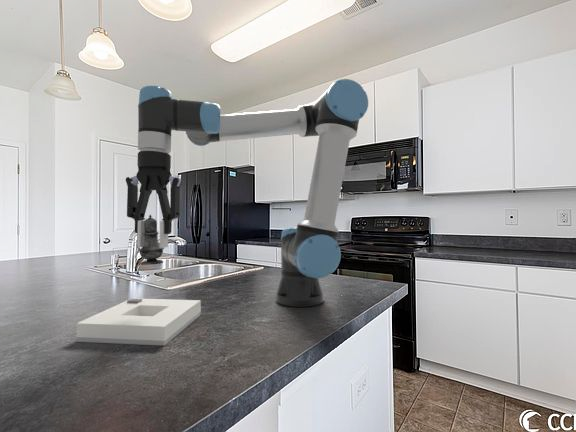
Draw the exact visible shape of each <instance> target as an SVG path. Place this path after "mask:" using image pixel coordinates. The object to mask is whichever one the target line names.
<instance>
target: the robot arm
mask: <svg viewBox="0 0 576 432" xmlns="http://www.w3.org/2000/svg"><path fill="white" fill-rule="evenodd" d="M368 108H369V97H368V94H367V92H366V91H365V90H364V87H363V86H362V85H361V84H359V83H358V81H355V80H353V79H349V78H342V79H338V80H336V81H335V82H333V83H331V84H330V85H329V86H328V87H327V88H326V91H324V93H322V95H321V96H320V97H319V98H318V99H316V100H315V101H313V102H311V103H308V104H304V105H303V104H301V105H298V106H297V108H294V109H283V110H282V109H281V110H280V109H279V110H269V111H268V110H267V111H256V112H243V113H229V114H221V106H220V105H219V104H218V103H213V102H208V101H197V100H195V101H194V100H186V99H175V98H173V93H172V92H171V91H170V90H169V89H168V88H165V87H162V86H158V85H146V86H143V87H142V88H141V89H140V90H139V98H138V105H137V111H138V112H137V113H138V114H137V115H138V116H137V117H138V119H137V120H138V123H137V124H138V128H137V130H138V132H137V149H138V152H137V173H136V175H134V176H131V177H130V176H127V177H126V178H125V182H126V187H127V194H126V196H127V197H126V198H127V200H126V202H127V203H126V217H127V218H131V219H133V220H134V233H135V234H137V235H136V236H137V242H136V244H137V245H136V247H137V248H142V247H143V246H144V242H145V241H144V234H143V233H145V231H144V221H145V220H146V218H145V216H146V211H147V208H148V205H149V200H150V197H151V195H152V194H153V192H154V191H155V193H156V194H157V197H158V202H159V205H160V210H161V214H162V218H161V220H160V221H159V246H160V248H164V249H165V248H168V247H169V235H171V234H172V232H173V231H172V227H173V226H172V225H173V224H172V222H173V221H174V220H176V219H179V218H180V215H181V213H180V212H181V211H180V208H181V207H180V205H181V200H180V199H181V186H182V183H183V179H182V178H179V177H175V176H173V175H172V173H171V164H172V156H171V155H170V153H172V131H177V132H185V134H186V136H187V139H189V140H190V142H191V143H192V144H194V145H196V146H200V147H204V146H206V145H209V144H210V143H216V142H217V143H218V142H226V141H237V140H247V139H248V140H250V139H259V138H270V137H280V136H281V137H282V136H292V135H299V137H301V138H304V137H305V138H306V137H318V142H317V147H316V153H315V158H314V163H313V170H312V175H311V180H310V184H309V191H308V195H307V196H308V197H307V201H306V207H305V213H304V217H303V219H302V220H301V221H300V222H297V226H296V227H289V228H285V229H282V231H281V236H280V245H281V250H280V251H281V252H280V254H281V255H280V256H281V257H280V260H281V261H280V263H281V264H280V265H281V266H280V267H281V271H280V272H281V273H280V275H281V276H280V278H279V282H278V286H277V288H276V289H277V290H276V292H275V301H276V303H277V304H280V305H282V306H287V307H294V308H296V307H297V308H299V307H300V308H306V307H307V308H308V307H314V306H317V305H320V304H322V303H323V302H324V292H323V289H322V286H321V283H320V280H319V279H323V278H325V277H328V276H330V275H331V274H333V273H334V272H335V271H336V270H337V268H338V267H339V264H340V262H341V258H342V252H341V247H340V246H339V243H338V240H339V239H338V238H339V235H340V234H339V232H340V231H339V229H338V228H337V226H336V219H337V212H338V206H339V201H340V195H341V189H342V184H343V181H344V175H345V169H346V162H347V157H348V153H349V146H350V141H352V140H353V139H355V138H356V136H357V134H358V129H359V127H358V126H359V122H360V119H362V118H364V116H365V115H366V113H367V112H368ZM139 183H140V186H139V187H138V185H139ZM169 183H170V201H169V195H168V194H169V193H168V187H167V186H168V184H169Z"/></svg>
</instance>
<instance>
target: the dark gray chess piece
mask: <svg viewBox="0 0 576 432" xmlns="http://www.w3.org/2000/svg"><path fill="white" fill-rule="evenodd" d="M144 231H145V233H143V234H144V241H145V242H144V246H143V247H140V248H138V251H139V255H140V257H141V258H142V259H143V261H141V262H140V263H139V265H141V266H151V265H158V264H159V265H161V264H163V263H164V261H162V259H159V258H161V257H162V255H163V254H164V253H163V252H164V249H165V248H160V243H159V241H158V238H159V237H158V235H159V232H158V221H157V219H155V218H153V217H152V215H151V214H149V216H148V218H145V221H144ZM144 259H145V260H144Z"/></svg>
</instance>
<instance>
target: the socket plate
mask: <svg viewBox="0 0 576 432" xmlns="http://www.w3.org/2000/svg"><path fill="white" fill-rule="evenodd" d="M201 305H202V300H201V299H200V300H199V299H197V300H196V299H166V298H161V299H160V298H159V299H158V298H135V297H133V298H130V299H128V300H125V301H123V302H121V303H118V304H116V305H114V306H112V307H109V308H108V309H105V310H103V311H100V312H99V313H96V314H94V315H91V316H89V317H87V318H84V319H83V320H81V321H79V322H77V323H76V342H77V343H78V342H80V343H81V342H82V343H97V344H98V343H100V344H121V345H140V346H141V345H143V346H146V345H147V346H166V345H168V343H169V342H171V341H173V339H174V338H176V336H178V335H179V334H180V333H181V332H182V331H184V330H185V329H186V328H187V327H188V326H190V325H191V324H192V323H193V322H194V321H196V320H197V318H199V317H200V316H201V314H202V309H201V308H202V306H201Z"/></svg>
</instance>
